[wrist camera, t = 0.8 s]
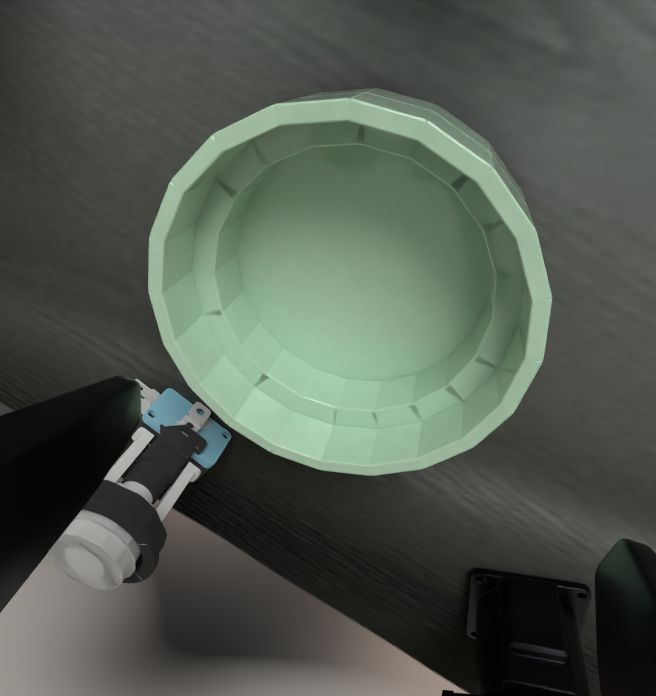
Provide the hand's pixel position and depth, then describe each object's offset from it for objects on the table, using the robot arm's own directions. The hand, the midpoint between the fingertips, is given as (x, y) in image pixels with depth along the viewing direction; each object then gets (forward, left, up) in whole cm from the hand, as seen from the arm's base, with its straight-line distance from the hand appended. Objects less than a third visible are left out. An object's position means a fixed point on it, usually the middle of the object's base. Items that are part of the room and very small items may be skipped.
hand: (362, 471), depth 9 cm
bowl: (-1, +3, -14) cm, 14 cm away
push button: (-10, +14, -14) cm, 22 cm away
